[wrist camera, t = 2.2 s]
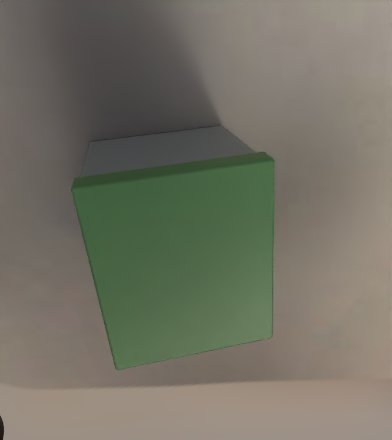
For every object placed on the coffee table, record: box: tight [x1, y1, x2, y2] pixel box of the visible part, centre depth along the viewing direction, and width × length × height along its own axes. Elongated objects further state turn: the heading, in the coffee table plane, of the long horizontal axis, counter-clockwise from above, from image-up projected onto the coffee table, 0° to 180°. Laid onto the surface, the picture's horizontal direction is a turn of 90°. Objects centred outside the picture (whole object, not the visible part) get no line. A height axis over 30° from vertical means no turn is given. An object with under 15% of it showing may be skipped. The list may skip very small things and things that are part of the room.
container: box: [71, 126, 274, 370], centre depth 13 cm, size 6×5×5 cm
